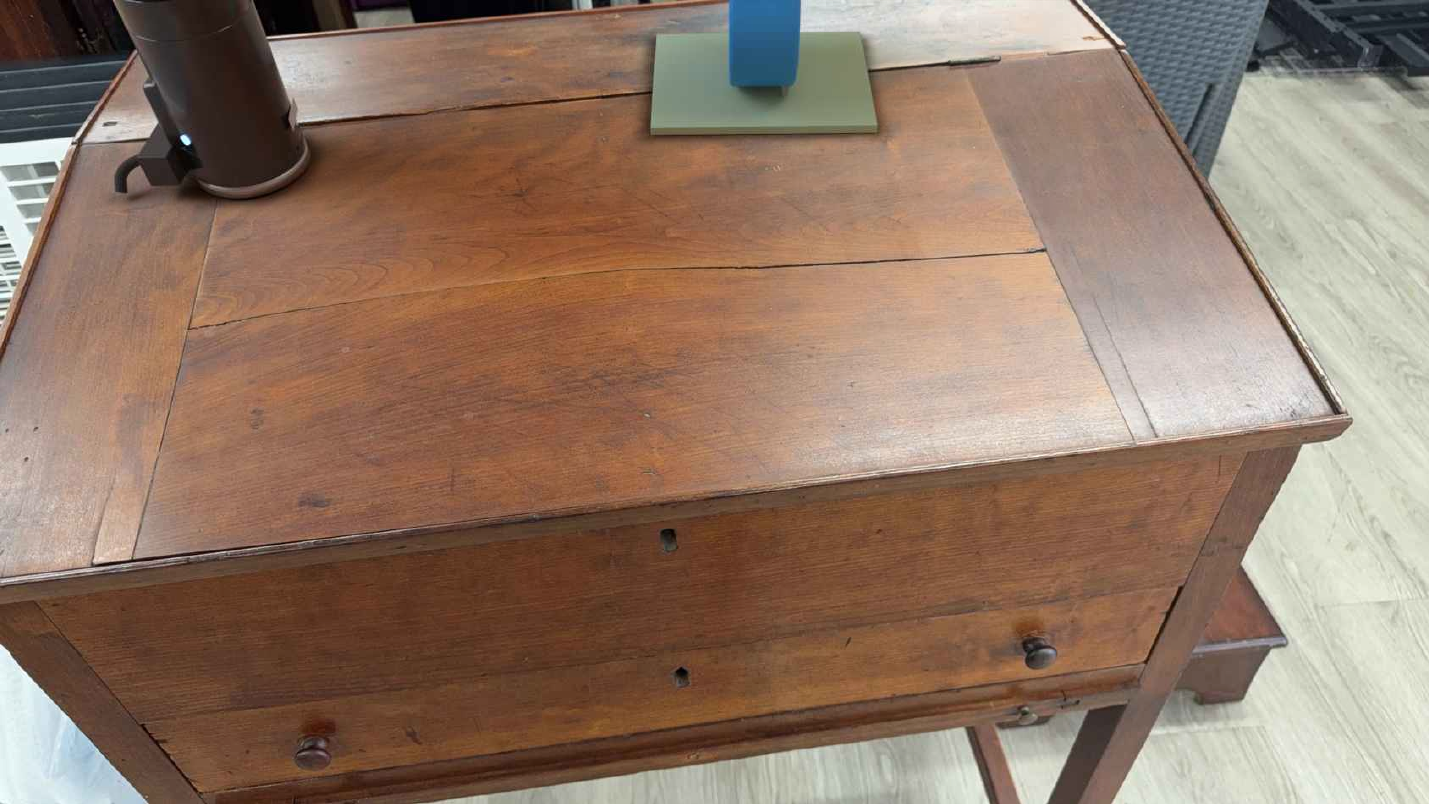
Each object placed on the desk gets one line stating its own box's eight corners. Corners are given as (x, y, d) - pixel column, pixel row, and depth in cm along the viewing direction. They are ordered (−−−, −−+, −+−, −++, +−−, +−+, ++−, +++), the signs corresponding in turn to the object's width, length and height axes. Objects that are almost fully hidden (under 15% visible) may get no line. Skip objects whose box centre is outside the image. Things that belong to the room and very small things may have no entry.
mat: (650, 135, 91) (650, 127, 90) (656, 41, 101) (656, 33, 101) (876, 132, 90) (877, 125, 90) (859, 38, 101) (860, 31, 100)
